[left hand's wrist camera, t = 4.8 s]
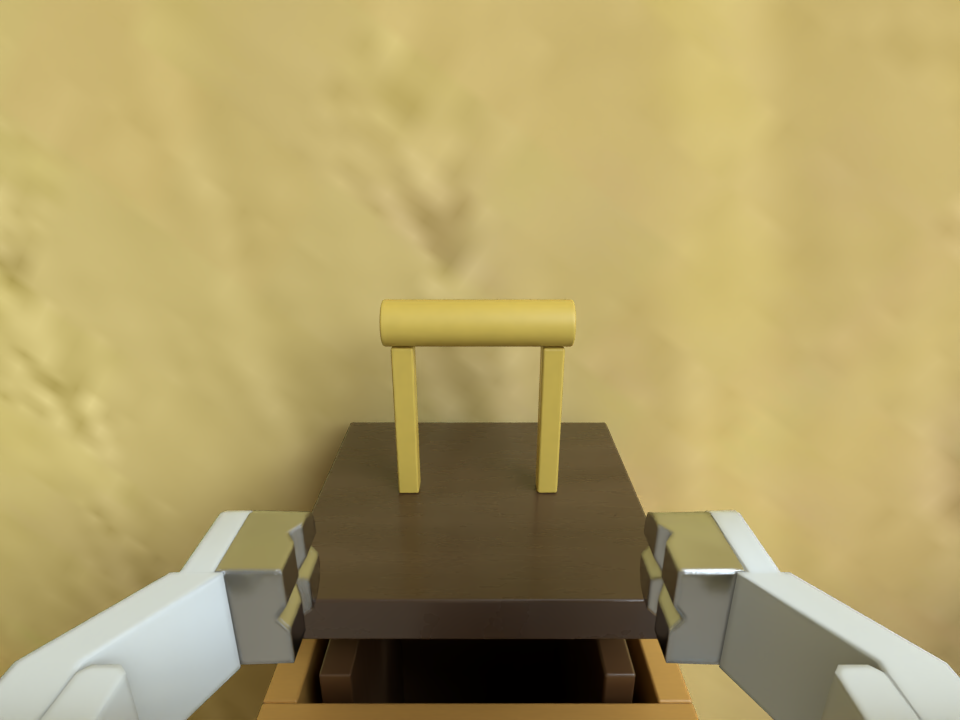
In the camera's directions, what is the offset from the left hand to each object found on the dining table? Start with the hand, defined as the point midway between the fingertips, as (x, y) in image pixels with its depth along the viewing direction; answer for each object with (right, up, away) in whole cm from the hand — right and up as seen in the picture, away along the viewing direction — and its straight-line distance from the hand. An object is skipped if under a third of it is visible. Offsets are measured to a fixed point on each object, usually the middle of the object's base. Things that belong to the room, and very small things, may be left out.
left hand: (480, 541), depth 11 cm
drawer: (0, -5, +14) cm, 15 cm away
